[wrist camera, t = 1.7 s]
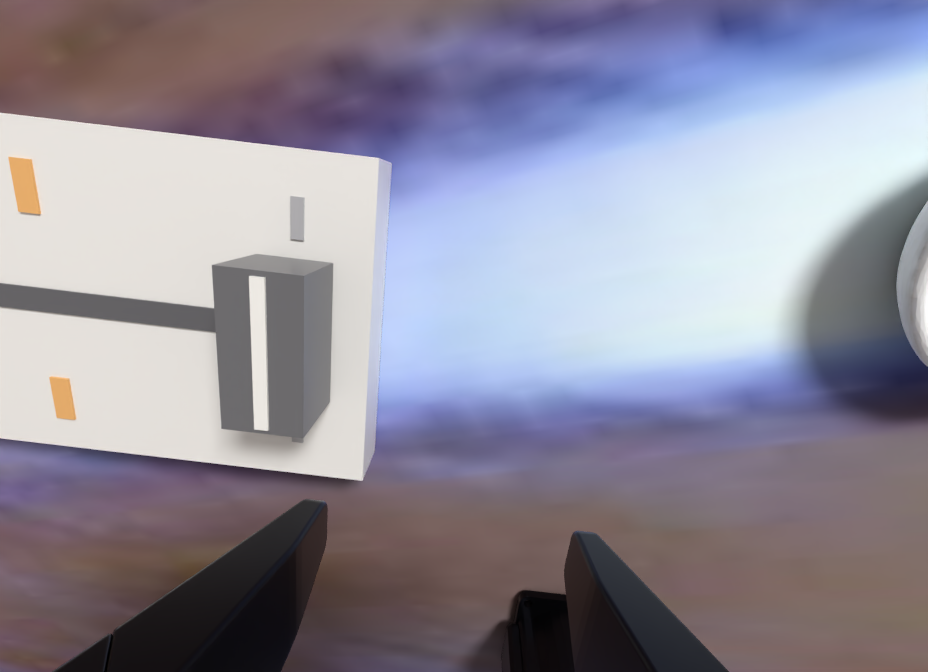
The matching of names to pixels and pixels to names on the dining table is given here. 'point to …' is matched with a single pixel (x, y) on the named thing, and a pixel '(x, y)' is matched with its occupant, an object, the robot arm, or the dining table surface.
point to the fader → (273, 342)
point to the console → (175, 287)
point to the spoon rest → (915, 286)
